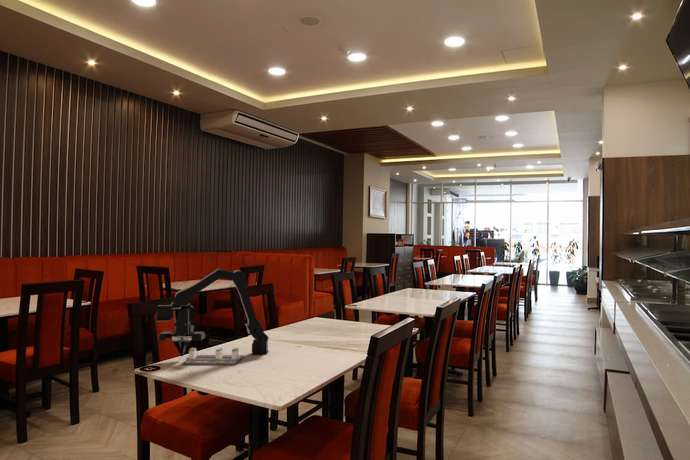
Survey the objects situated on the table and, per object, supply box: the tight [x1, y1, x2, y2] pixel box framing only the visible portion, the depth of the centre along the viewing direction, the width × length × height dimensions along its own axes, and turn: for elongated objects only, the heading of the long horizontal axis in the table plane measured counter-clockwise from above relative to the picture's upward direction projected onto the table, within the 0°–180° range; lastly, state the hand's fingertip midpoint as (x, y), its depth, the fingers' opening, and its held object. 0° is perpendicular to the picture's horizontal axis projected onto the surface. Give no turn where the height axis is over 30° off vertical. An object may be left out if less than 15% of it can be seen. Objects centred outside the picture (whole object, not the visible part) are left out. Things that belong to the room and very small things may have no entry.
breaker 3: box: [231, 347, 239, 359], centre depth 198 cm, size 2×3×4 cm, turn 178°
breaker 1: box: [188, 347, 197, 359], centre depth 199 cm, size 2×3×4 cm, turn 178°
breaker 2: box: [215, 347, 224, 359], centre depth 198 cm, size 2×3×4 cm, turn 178°
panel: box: [182, 354, 245, 366], centre depth 198 cm, size 22×13×2 cm, turn 88°
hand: (182, 355), depth 199 cm, fingers closed
